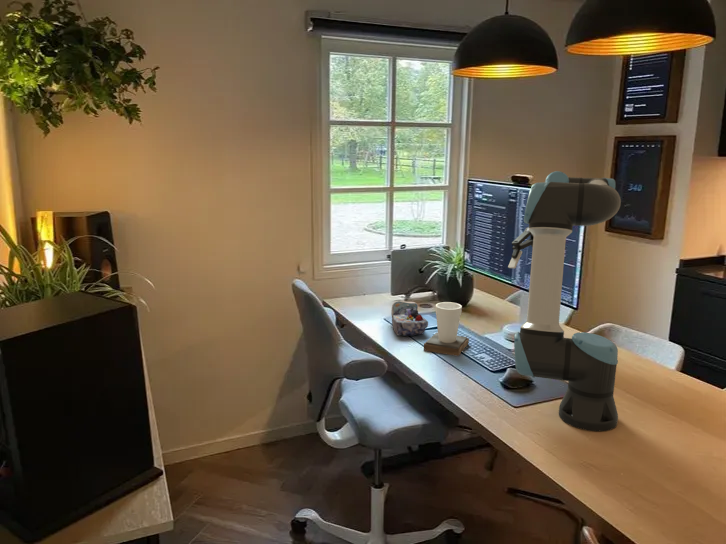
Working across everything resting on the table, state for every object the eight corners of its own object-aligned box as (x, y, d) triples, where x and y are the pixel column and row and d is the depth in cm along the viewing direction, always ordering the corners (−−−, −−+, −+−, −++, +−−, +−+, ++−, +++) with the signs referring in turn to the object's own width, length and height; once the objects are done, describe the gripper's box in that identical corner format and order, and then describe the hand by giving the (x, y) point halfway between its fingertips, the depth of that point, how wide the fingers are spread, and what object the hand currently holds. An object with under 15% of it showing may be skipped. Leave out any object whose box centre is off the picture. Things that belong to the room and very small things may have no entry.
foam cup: (459, 345, 205) (461, 310, 202) (433, 343, 207) (434, 308, 204) (460, 336, 214) (462, 302, 211) (435, 334, 216) (436, 301, 213)
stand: (458, 356, 203) (458, 348, 202) (423, 350, 208) (423, 342, 208) (468, 344, 214) (469, 337, 213) (435, 339, 220) (435, 331, 219)
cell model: (414, 296, 238) (431, 311, 220) (413, 321, 241) (430, 338, 222) (384, 298, 235) (398, 313, 217) (383, 323, 238) (397, 340, 219)
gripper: (554, 244, 211) (533, 294, 206) (516, 206, 198) (493, 258, 193) (572, 244, 205) (551, 296, 200) (534, 205, 192) (510, 259, 187)
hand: (522, 277), depth 196 cm, fingers open, 13 cm apart
